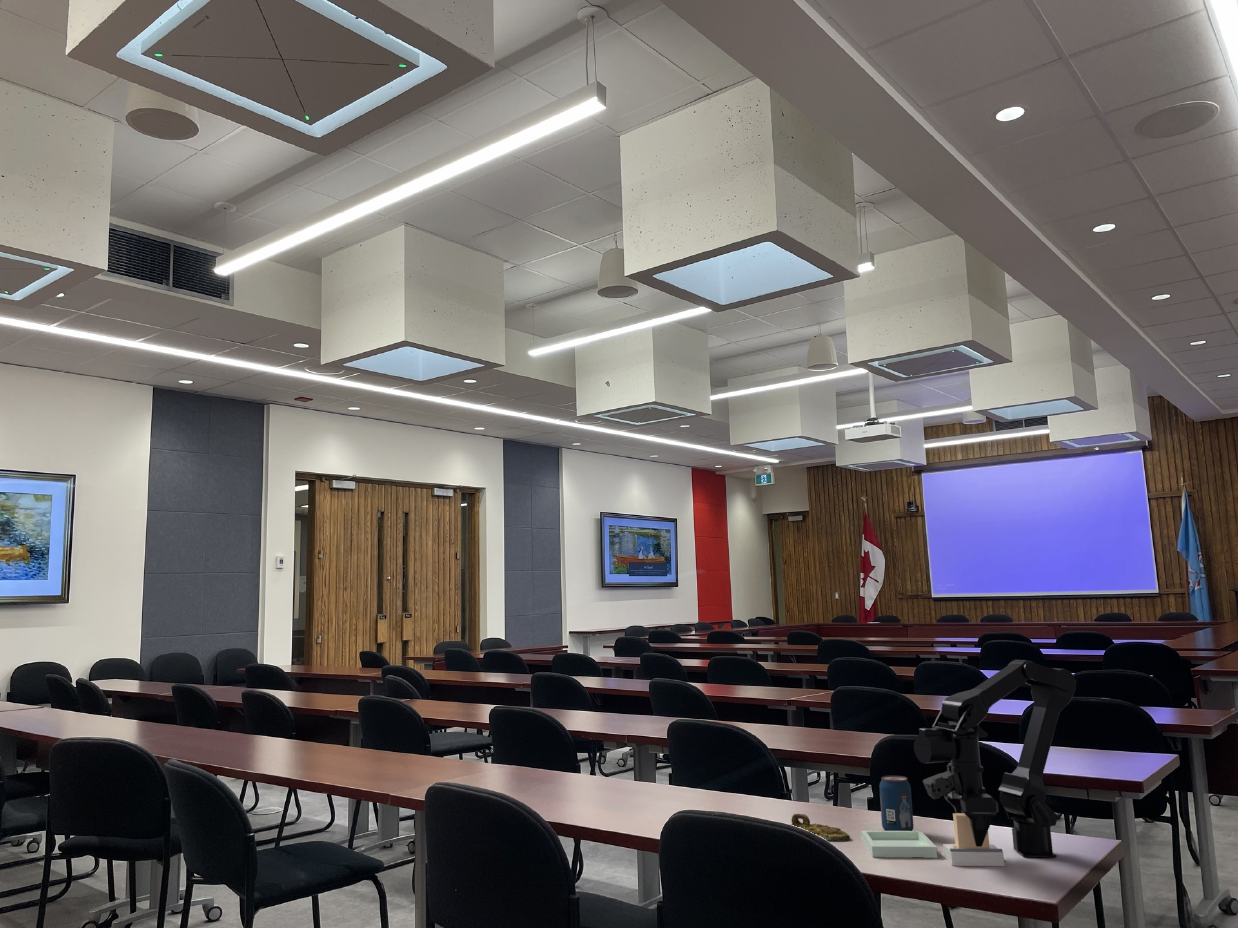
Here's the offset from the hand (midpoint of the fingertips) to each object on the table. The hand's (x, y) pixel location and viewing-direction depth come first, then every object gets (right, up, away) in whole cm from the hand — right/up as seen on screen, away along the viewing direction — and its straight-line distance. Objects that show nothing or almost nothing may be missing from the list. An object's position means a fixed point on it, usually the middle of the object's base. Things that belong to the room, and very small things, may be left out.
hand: (971, 840), depth 175 cm
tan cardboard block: (0, -4, -1) cm, 4 cm away
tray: (-12, -6, +9) cm, 16 cm away
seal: (-26, -9, +22) cm, 35 cm away
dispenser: (0, -4, -1) cm, 4 cm away
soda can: (-8, -8, +23) cm, 25 cm away
